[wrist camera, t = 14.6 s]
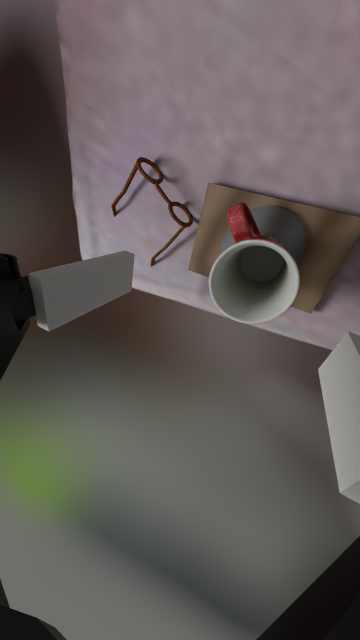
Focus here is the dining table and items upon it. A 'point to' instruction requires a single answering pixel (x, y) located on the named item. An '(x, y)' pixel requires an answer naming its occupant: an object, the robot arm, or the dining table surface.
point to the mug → (253, 273)
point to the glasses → (157, 182)
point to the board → (279, 236)
